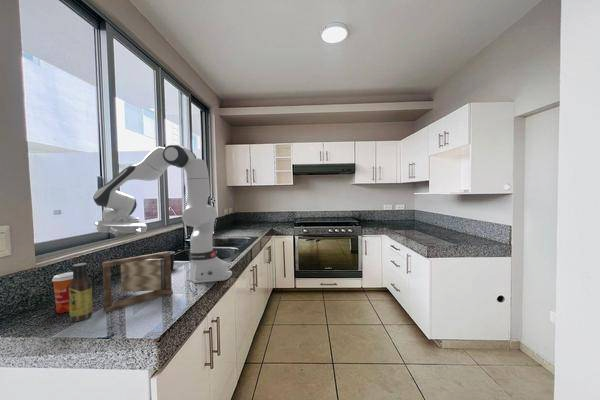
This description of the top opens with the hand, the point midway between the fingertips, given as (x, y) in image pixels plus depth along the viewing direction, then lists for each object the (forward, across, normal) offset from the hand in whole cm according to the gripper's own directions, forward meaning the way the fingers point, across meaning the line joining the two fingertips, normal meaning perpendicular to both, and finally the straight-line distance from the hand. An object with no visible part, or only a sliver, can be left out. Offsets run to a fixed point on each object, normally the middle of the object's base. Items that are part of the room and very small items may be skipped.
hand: (128, 232), depth 117 cm
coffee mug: (-10, +28, +28) cm, 40 cm away
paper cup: (+13, -19, +27) cm, 36 cm away
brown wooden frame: (+26, +1, +20) cm, 33 cm away
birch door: (+20, +4, +20) cm, 29 cm away
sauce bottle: (+26, -18, +23) cm, 39 cm away
